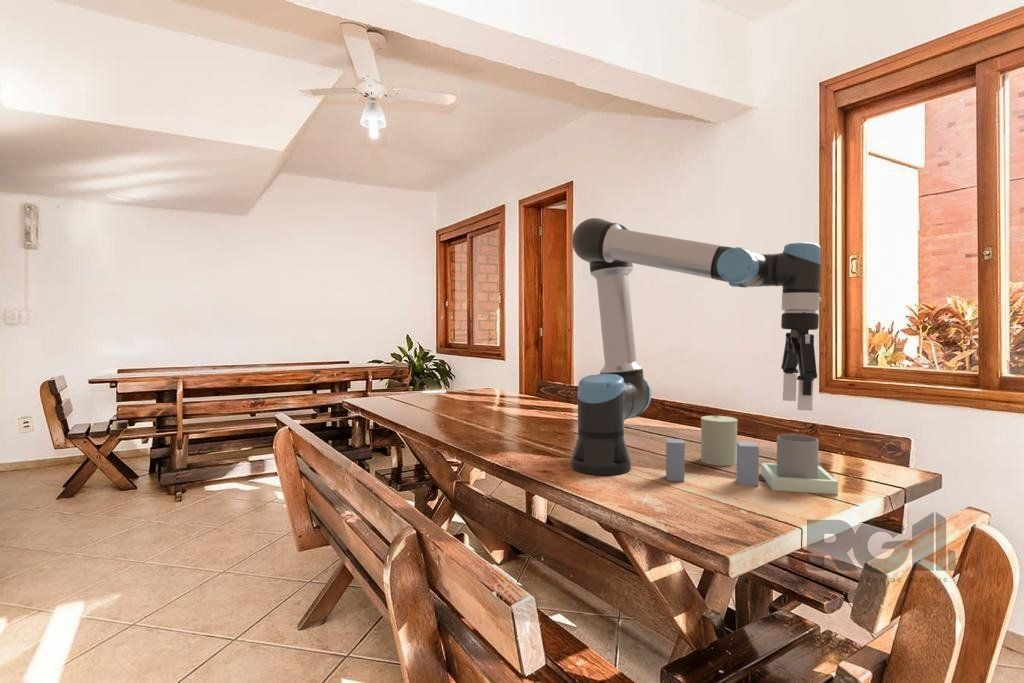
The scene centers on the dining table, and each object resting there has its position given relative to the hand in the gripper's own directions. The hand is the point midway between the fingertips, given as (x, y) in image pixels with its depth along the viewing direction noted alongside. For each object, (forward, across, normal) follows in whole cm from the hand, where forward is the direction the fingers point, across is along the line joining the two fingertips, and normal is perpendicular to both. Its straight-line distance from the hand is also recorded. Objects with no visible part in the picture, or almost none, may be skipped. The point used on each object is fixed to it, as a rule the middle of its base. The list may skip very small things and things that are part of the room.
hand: (796, 405), depth 127 cm
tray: (+18, 0, -1) cm, 18 cm away
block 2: (+18, -2, +10) cm, 21 cm away
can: (+19, +17, +14) cm, 29 cm away
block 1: (+18, -2, +26) cm, 32 cm away
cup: (+18, 0, 0) cm, 18 cm away
